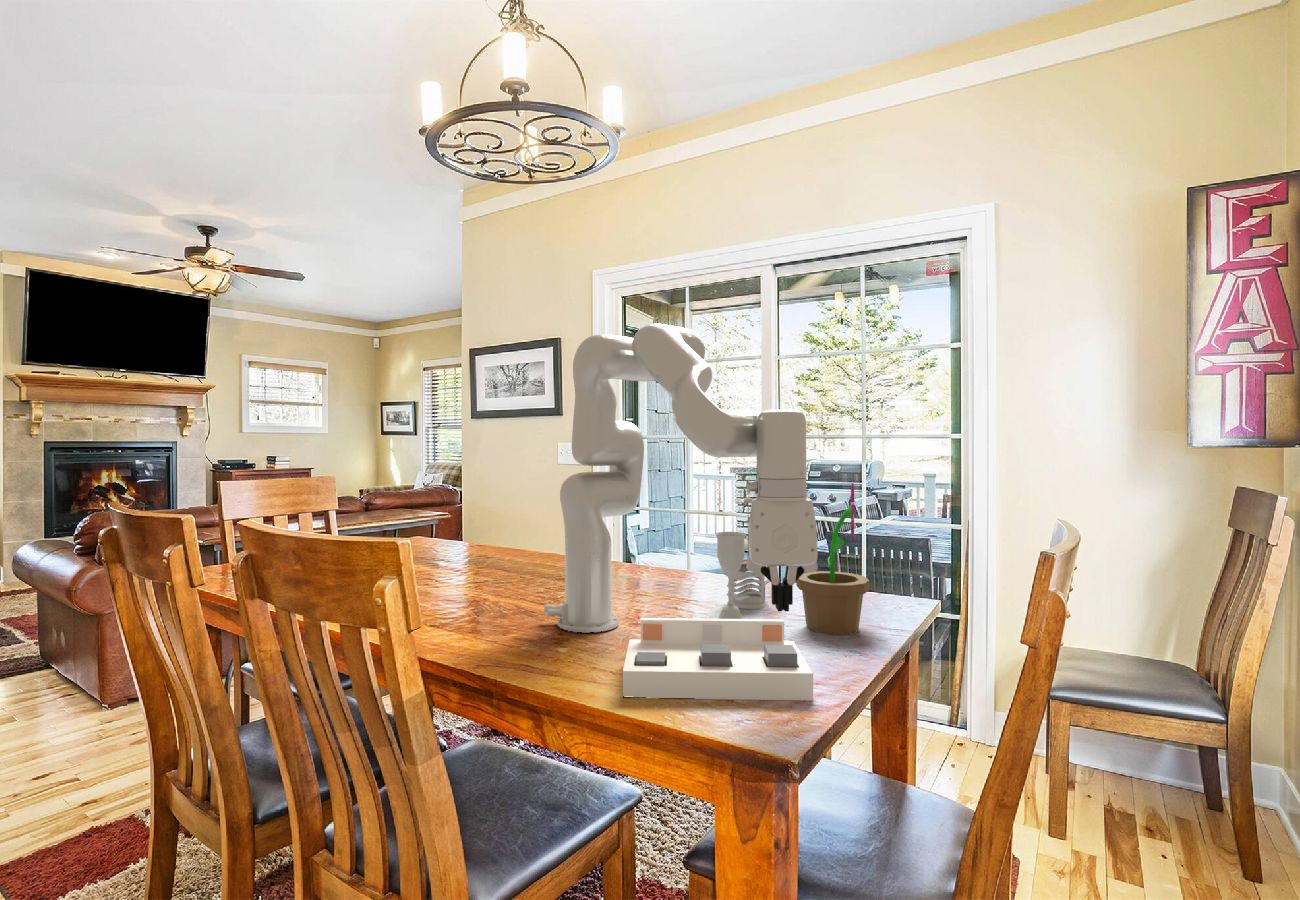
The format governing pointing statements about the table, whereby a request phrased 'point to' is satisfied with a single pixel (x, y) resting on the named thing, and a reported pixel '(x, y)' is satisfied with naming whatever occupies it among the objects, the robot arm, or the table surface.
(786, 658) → the button right
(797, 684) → the button board
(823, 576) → the flowerpot
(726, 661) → the button middle
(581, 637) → the table surface
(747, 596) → the french press
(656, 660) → the button left
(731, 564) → the chalice
